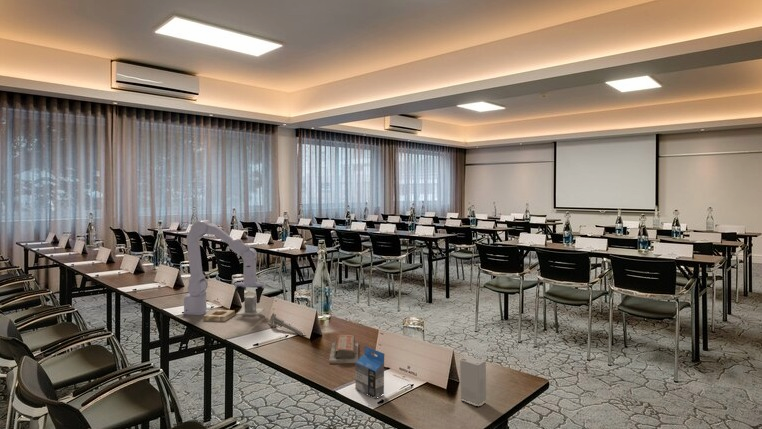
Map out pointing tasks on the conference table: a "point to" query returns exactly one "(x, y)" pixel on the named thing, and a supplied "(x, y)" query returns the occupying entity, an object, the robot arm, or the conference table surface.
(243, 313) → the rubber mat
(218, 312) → the holder block
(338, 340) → the packaged product
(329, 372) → the conference table surface
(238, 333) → the conference table surface
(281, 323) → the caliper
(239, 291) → the robot arm
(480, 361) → the skincare box
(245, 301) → the key peg
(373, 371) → the label tape cartridge
